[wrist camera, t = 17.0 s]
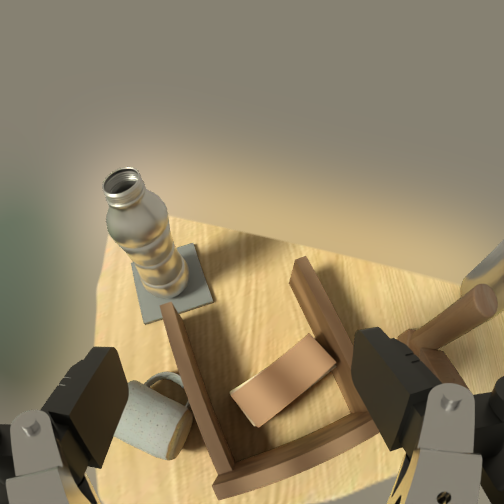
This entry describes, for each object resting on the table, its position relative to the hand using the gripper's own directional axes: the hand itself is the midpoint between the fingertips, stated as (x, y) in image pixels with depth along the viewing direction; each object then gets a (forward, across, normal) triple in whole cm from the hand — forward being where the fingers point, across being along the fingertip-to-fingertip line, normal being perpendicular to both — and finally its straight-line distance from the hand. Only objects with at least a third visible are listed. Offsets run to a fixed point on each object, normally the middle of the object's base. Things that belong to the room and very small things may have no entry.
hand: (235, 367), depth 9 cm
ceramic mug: (+19, +11, +21) cm, 30 cm away
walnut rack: (+23, -2, +17) cm, 29 cm away
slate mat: (+32, +10, +8) cm, 34 cm away
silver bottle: (+32, +10, +8) cm, 34 cm away
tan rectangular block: (+22, -4, +19) cm, 29 cm away
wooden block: (+20, -21, +20) cm, 36 cm away
